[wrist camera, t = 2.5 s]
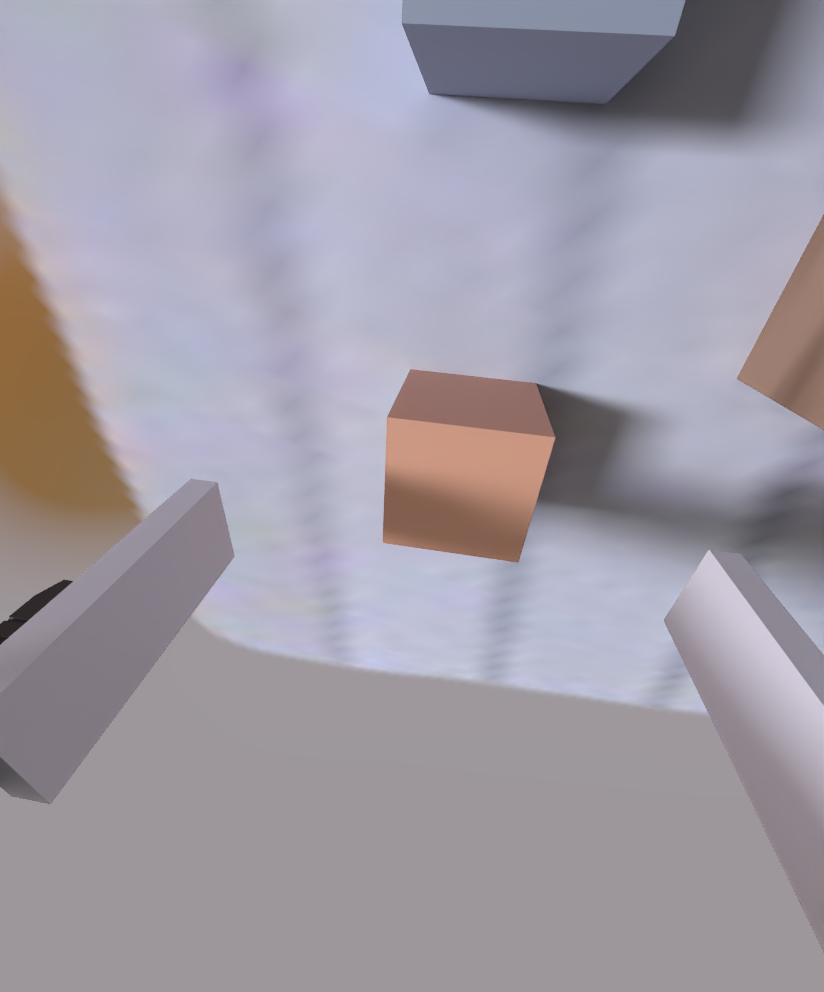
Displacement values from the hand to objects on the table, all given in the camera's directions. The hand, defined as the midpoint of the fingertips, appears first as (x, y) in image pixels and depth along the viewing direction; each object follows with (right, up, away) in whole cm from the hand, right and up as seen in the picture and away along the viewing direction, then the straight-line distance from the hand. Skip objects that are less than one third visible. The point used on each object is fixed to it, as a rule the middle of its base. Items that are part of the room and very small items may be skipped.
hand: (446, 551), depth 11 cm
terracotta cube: (+1, +4, +6) cm, 8 cm away
